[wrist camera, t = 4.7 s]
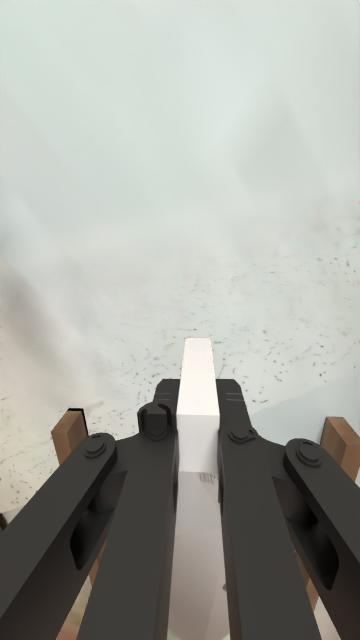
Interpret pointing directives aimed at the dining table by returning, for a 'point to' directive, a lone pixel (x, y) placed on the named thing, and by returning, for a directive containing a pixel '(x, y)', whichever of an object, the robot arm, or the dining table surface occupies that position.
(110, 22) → the dining table surface
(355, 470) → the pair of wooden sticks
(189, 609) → the die
